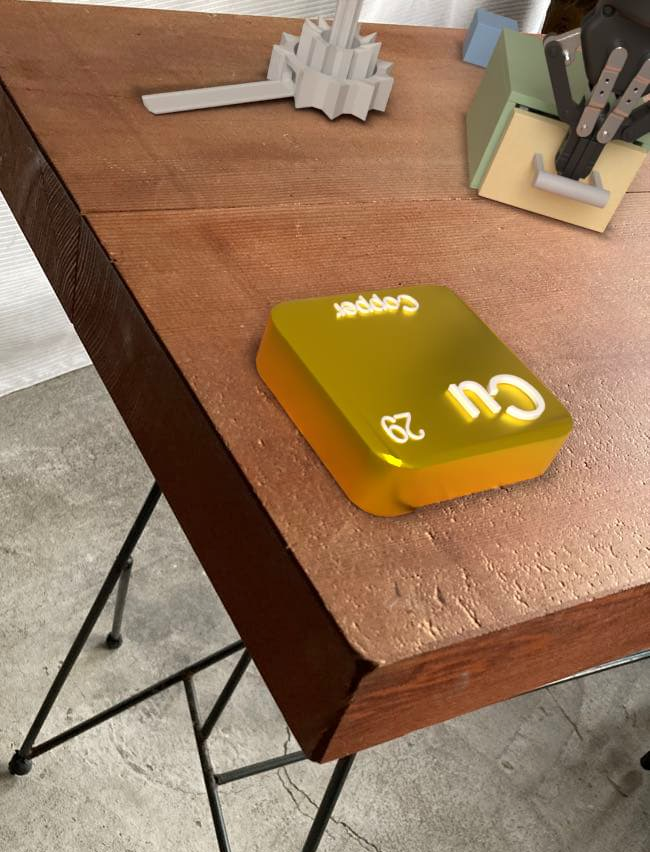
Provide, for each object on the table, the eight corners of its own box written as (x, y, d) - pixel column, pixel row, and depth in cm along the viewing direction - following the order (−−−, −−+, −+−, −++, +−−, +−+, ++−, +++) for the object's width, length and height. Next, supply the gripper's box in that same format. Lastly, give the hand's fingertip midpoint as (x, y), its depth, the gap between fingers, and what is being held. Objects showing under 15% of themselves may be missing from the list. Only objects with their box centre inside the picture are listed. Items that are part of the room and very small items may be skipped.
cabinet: (601, 234, 86) (657, 136, 80) (466, 193, 85) (511, 90, 79) (584, 160, 96) (632, 68, 90) (463, 123, 95) (503, 26, 89)
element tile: (424, 330, 69) (450, 272, 66) (556, 478, 62) (593, 421, 58) (242, 356, 62) (260, 293, 59) (365, 527, 55) (395, 466, 51)
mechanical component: (132, 111, 83) (153, -88, 72) (320, 59, 97) (363, -114, 86) (225, 176, 79) (263, -24, 68) (407, 111, 93) (464, -63, 82)
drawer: (609, 263, 81) (657, 182, 76) (479, 223, 80) (518, 139, 75) (586, 163, 94) (625, 88, 89) (473, 128, 93) (506, 50, 88)
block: (499, 63, 109) (517, 20, 106) (501, 79, 106) (519, 35, 102) (460, 51, 108) (476, 7, 105) (460, 66, 105) (478, 22, 102)
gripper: (602, -71, 64) (490, 174, 76) (789, -9, 65) (648, 224, 77) (590, -101, 69) (487, 133, 81) (763, -43, 70) (635, 180, 82)
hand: (566, 177), depth 79 cm, fingers closed
